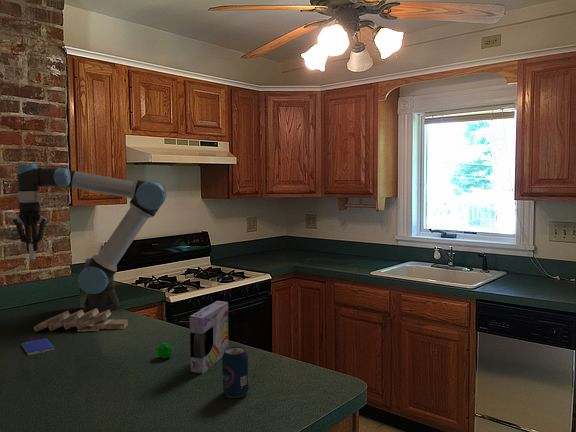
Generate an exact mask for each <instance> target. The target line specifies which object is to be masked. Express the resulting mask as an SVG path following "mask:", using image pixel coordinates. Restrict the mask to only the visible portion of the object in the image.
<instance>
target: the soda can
mask: <svg viewBox="0 0 576 432" xmlns="http://www.w3.org/2000/svg"><path fill="white" fill-rule="evenodd" d="M221 360H222V361H221V363H222V368H221V369H222V391H223V393H224V394H225V395H226V397H228V398H232V399H233V398H234V399H236V398H241V397H244V396H246V395H247V393H248V391H249V389H250V387H249V384H250V383H249V381H250V380H249V379H250V378H249V355H248V353H247V349H246V348H245V347H242V346H230V347H229V346H228V348H227V349H225V350H224V354H223V356H222V358H221Z"/></svg>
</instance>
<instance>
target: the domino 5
mask: <svg viewBox="0 0 576 432" xmlns="http://www.w3.org/2000/svg"><path fill="white" fill-rule="evenodd" d="M128 324H129V320H128V319H124V318H123V319H121V318H120V319H103V320H101V321H99V322H96V323H94V324H92V329H100V330H125V329H126V327H127V326H128Z"/></svg>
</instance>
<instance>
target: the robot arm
mask: <svg viewBox="0 0 576 432" xmlns="http://www.w3.org/2000/svg"><path fill="white" fill-rule="evenodd" d="M16 179H17V191H18V192H17V193H18V202H19V203H18V210H19V214H18V216H17V218H14V219H12V222H13V223H14V224H15V226H16V230H17V233H18V235H19V239H20V242H22V243H25V244H26V251H27V252H28V255H29V256H28V258H29V260H36V259H37V251H38V249H39V246H38V245H39V244H38V243H39V242H41V241H43V237H44V232H45V228H46V227H45V226H46V223H47V221H48V218H47V217H44V216H43V215H42V212H41V203H40V202H39V201H40V190H39V188H42V187H44V188H45V187H47V188H49V187H50V188H51V187H52V188H53V187H59V188H61V187H62V188H63V187H64V188H71V189H77V190H82V191H89V192H94V193H99V194H104V195H105V194H106V195H111V196H115V197H116V196H117V197H121V198H128V199H130V201H129V206H130V207H129V209H128V210H127V211H126V213H125V215H124V216H123V217H122V219H121V221H120V222H119V224H118V225H117V227H116V228H115V229H114V231H113V232H112V234H111V235H110V236H109V238H108V239H107V241H106V242H105V244H104V246H103V247H101V250H100V252H99V253H98V254H95V255H92V256H91V257H89V258H86V259H85V263H84V266H85V267H84V268H83V269H82V270H81V271H80V273H79V275H78V278H77V281H78V282H77V283H78V286H79V288H80V289H81V290H82V291H83V292H85V293H86V294H85V298H84V302H83V305H82V307H83V309H82V310H83V312H85V313H87V312H89V311H91V310H93V309H95V308H97V309H98V311H99V313H101V312H104V311H106V310H109V309H110V311H113V310H116V309H118V308H119V307H120V302H119V299H118V296H117V293H116V290H115V278H114V277H115V274H116V273H117V271H118V267H117V265H118V264H119V262H120V260H121V259H122V258H123V256H124V255H125V253H126V252H127V250H128V248H129V247H130V246H131V244H132V243H133V241H134V240H135V238H136V237H137V235H138V234H139V233H140V231H141V230H142V228H143V226H144V225H145V223H146V222H147V220H148V219H150V218H154V217H155V216H156V214H157V212H158V211H159V210H160V208H161V206H163V204H164V203H165V201H166V198H167V190H166V188H165V186H164V185H163V184H162V183H161V182H159V181H156V180H139V179H137V180H135V181H132V180H127V179H121V178H116V177H110V176H105V175H98V174H93V173H88V172H83V171H77V170H71V169H69V168H67V167H53V168H52V167H51V168H49V167H48V168H45V167H43V168H41V167H38V164H37V163H19V164H17V166H16ZM38 222H39V227H38ZM22 223H23V224H22ZM23 227H24V228H23Z"/></svg>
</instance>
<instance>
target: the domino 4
mask: <svg viewBox="0 0 576 432" xmlns="http://www.w3.org/2000/svg"><path fill="white" fill-rule="evenodd" d="M111 315H112V312H111V310H110V309H109V310H106V311H104V312H99V313H98V314H97V315H95V316H94V317H92V318H90V319H88V320H86V321H84V322H82V323H80V324H77V325H75V327H76V328H77V330H79V329H82V328H84V327H86V326H89V325H91V324H94V323H96V322H99V321H101V320H107V319H108V318H109V317H110V316H111Z"/></svg>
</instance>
